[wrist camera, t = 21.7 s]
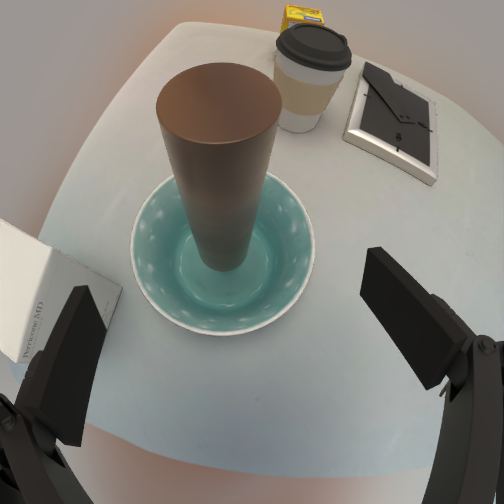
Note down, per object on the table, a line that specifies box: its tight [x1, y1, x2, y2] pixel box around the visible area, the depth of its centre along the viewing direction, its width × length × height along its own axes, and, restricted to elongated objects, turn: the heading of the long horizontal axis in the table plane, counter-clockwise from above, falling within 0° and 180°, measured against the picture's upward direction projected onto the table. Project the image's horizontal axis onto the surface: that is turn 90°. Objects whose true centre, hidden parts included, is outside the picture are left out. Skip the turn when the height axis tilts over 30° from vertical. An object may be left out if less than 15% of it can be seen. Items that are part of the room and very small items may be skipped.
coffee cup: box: [273, 23, 352, 133], centre depth 31 cm, size 9×9×15 cm
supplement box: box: [280, 4, 324, 34], centre depth 38 cm, size 6×6×11 cm
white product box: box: [0, 218, 122, 363], centre depth 21 cm, size 9×9×15 cm
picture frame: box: [342, 62, 438, 186], centre depth 39 cm, size 16×3×21 cm
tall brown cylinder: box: [156, 63, 282, 272], centre depth 16 cm, size 4×4×16 cm
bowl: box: [130, 171, 315, 336], centre depth 27 cm, size 16×16×8 cm
